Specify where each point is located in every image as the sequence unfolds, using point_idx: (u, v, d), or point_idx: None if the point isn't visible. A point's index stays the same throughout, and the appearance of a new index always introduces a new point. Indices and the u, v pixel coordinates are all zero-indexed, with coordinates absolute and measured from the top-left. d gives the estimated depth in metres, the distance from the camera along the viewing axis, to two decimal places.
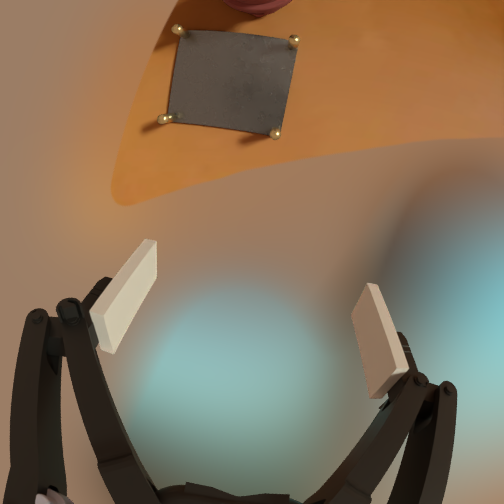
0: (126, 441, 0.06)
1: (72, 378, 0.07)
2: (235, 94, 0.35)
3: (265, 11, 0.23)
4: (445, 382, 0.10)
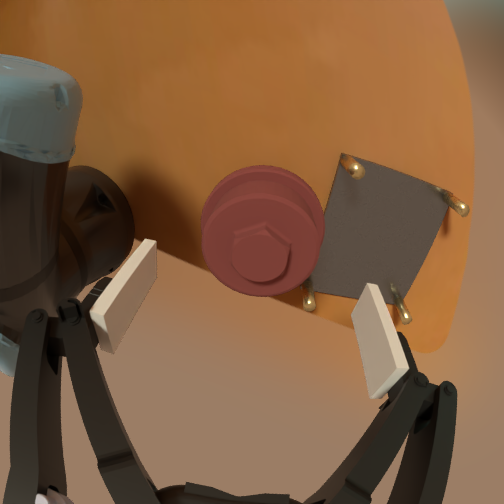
0: (126, 441, 0.06)
1: (72, 378, 0.07)
2: (399, 237, 0.29)
3: None
4: (445, 382, 0.10)
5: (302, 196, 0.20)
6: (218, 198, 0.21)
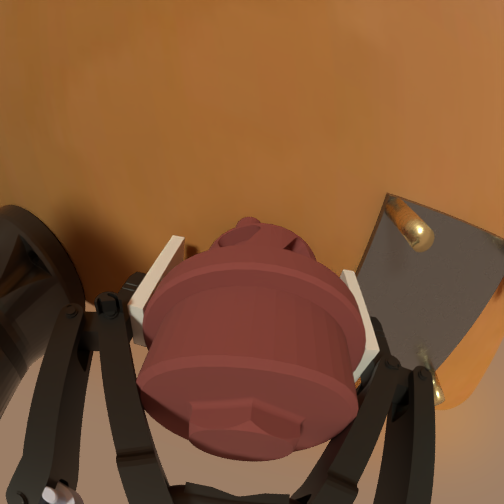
0: (149, 439, 0.07)
1: (103, 371, 0.08)
2: (447, 307, 0.19)
3: None
4: (418, 366, 0.11)
5: (331, 314, 0.10)
6: (165, 310, 0.10)
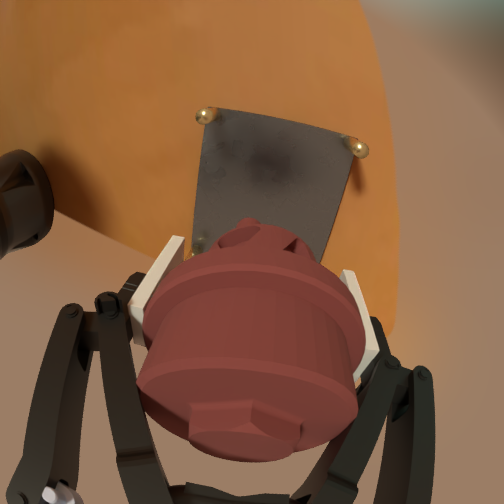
0: (149, 439, 0.07)
1: (103, 371, 0.08)
2: (291, 193, 0.28)
3: None
4: (418, 366, 0.11)
5: (331, 315, 0.10)
6: (164, 311, 0.10)
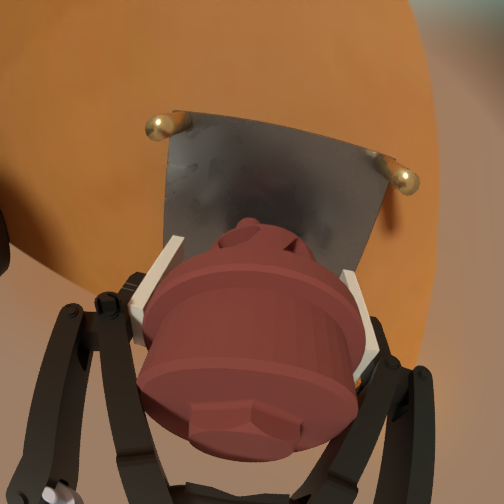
0: (149, 439, 0.07)
1: (103, 371, 0.08)
2: None
3: None
4: (418, 367, 0.11)
5: (331, 315, 0.10)
6: (164, 311, 0.10)
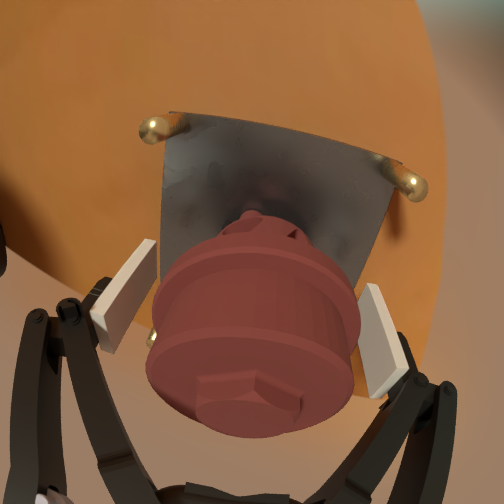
0: (126, 441, 0.06)
1: (72, 378, 0.07)
2: None
3: None
4: (445, 382, 0.10)
5: (328, 295, 0.11)
6: (174, 293, 0.11)
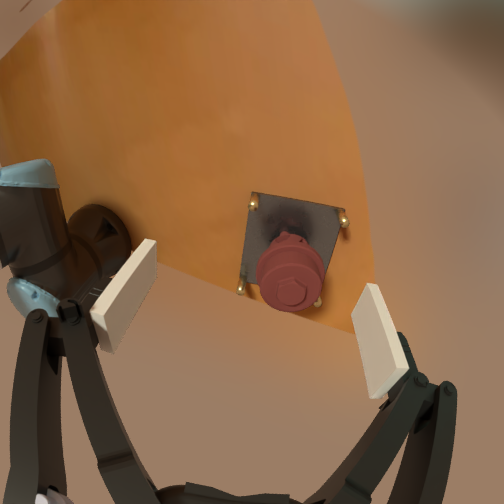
0: (126, 441, 0.06)
1: (72, 378, 0.07)
2: None
3: None
4: (445, 382, 0.10)
5: (312, 258, 0.38)
6: (266, 260, 0.39)
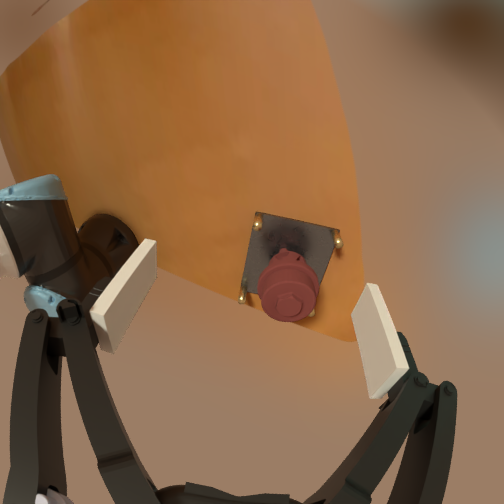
0: (126, 441, 0.06)
1: (72, 378, 0.07)
2: None
3: None
4: (445, 382, 0.10)
5: (308, 275, 0.43)
6: (267, 275, 0.43)
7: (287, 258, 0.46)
